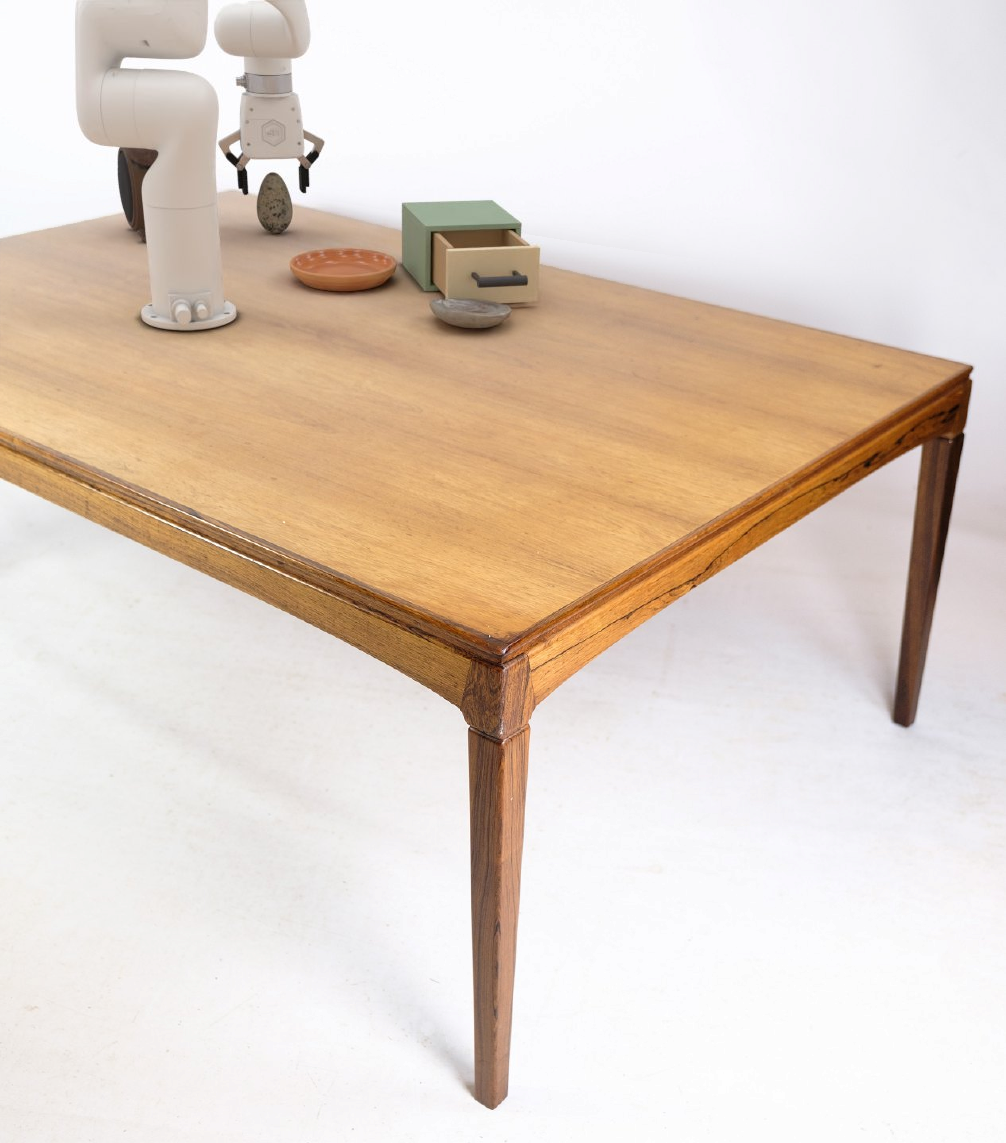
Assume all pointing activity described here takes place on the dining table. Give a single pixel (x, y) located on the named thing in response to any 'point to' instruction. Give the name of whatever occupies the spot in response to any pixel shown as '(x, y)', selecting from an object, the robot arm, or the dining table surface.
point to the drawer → (485, 265)
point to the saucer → (343, 269)
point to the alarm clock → (134, 183)
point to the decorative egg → (274, 204)
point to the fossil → (470, 312)
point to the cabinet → (445, 229)
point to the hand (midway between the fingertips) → (274, 192)
